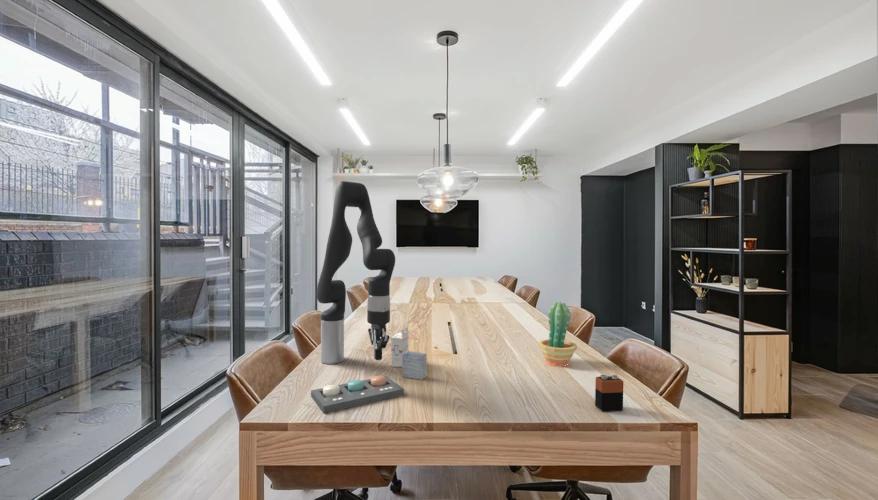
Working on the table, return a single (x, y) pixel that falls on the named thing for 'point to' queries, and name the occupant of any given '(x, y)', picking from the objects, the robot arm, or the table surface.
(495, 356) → the table surface
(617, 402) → the battery
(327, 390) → the cream button
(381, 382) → the terracotta button
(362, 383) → the teal button
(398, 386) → the button panel
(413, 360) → the medicine box
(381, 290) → the robot arm
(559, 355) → the potted cactus
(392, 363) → the ink cartridge box
